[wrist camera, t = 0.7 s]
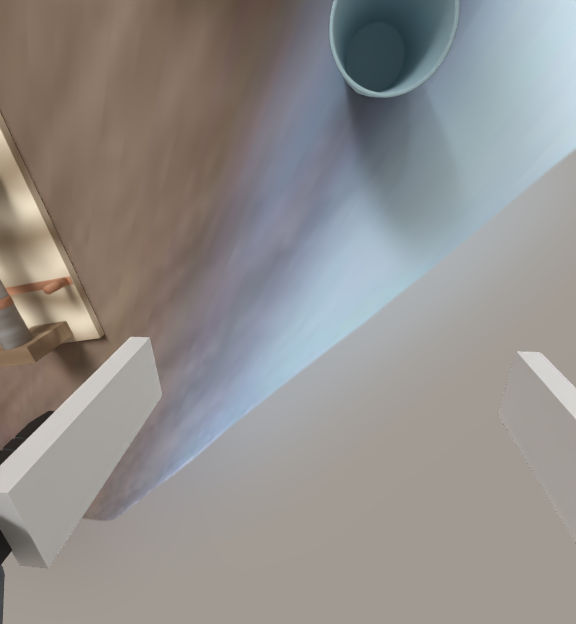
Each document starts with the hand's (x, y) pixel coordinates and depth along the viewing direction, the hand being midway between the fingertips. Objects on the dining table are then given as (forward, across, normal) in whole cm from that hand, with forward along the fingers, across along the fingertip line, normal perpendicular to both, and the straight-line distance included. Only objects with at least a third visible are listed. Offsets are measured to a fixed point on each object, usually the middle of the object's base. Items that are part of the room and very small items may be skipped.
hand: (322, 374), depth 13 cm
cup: (+27, +4, +14) cm, 31 cm away
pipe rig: (+27, -37, -1) cm, 46 cm away
